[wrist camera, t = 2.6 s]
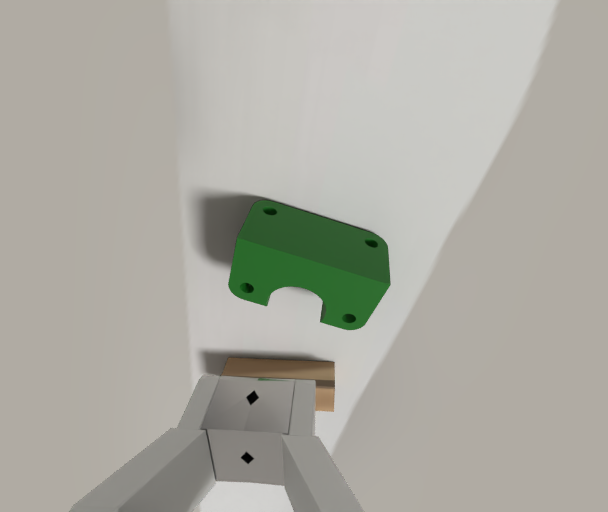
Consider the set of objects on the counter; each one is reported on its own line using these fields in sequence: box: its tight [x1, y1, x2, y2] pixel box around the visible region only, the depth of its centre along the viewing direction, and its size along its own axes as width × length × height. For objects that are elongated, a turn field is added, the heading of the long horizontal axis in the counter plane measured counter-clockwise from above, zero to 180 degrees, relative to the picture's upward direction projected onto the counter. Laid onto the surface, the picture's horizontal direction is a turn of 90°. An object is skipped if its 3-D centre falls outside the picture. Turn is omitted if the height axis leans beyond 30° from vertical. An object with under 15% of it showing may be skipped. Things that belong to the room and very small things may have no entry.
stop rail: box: [220, 358, 335, 412], centre depth 35 cm, size 3×11×4 cm, turn 90°
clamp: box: [228, 200, 390, 330], centre depth 28 cm, size 12×6×9 cm, turn 67°
